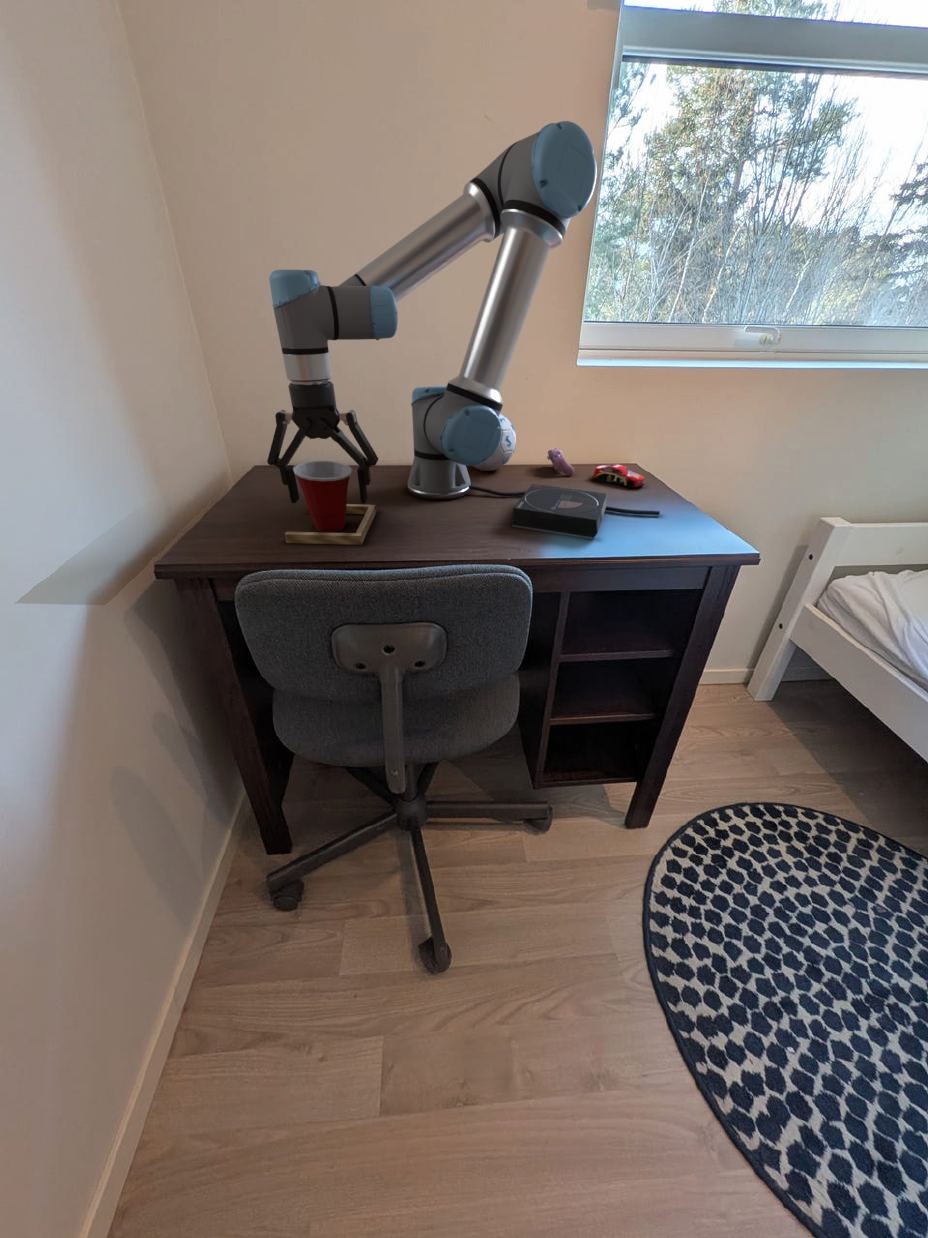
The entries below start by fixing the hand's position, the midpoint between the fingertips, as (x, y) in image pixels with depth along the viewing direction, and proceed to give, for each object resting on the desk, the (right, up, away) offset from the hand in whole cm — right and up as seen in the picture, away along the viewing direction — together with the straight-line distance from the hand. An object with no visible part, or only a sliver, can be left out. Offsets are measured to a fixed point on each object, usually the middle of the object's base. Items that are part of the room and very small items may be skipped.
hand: (330, 501), depth 93 cm
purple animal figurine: (+53, +18, +38) cm, 67 cm away
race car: (+66, +12, +30) cm, 74 cm away
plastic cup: (0, -5, +3) cm, 6 cm away
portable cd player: (+47, -2, +9) cm, 48 cm away
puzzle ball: (+33, +18, +38) cm, 53 cm away
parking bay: (0, -4, +3) cm, 5 cm away
